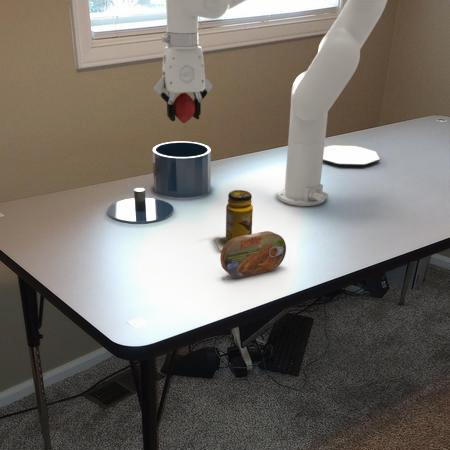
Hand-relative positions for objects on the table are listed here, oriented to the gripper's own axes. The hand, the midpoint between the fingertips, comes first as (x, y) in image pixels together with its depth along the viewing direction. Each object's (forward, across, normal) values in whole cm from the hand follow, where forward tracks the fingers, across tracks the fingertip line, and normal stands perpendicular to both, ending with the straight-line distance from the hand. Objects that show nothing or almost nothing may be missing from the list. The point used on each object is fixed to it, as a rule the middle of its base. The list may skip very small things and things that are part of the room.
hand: (184, 118), depth 169 cm
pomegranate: (+1, 0, 0) cm, 1 cm away
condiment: (+20, -1, -37) cm, 42 cm away
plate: (+20, +59, +13) cm, 64 cm away
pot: (+19, 0, +2) cm, 20 cm away
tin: (+20, -3, -52) cm, 56 cm away
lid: (+19, -16, -11) cm, 27 cm away
